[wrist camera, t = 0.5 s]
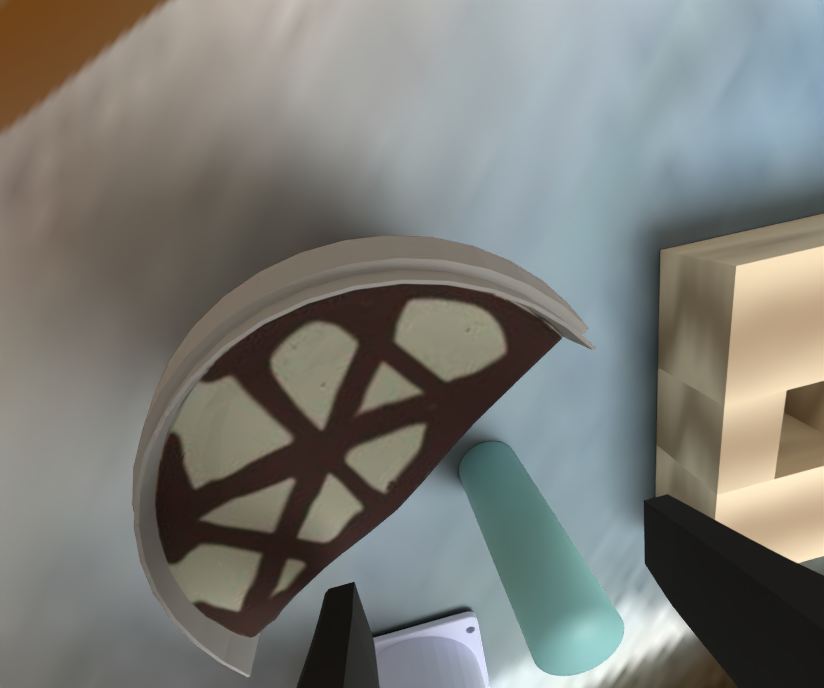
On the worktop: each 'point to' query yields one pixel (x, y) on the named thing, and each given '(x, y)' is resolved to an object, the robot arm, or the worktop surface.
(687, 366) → the hole block
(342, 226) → the worktop surface
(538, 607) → the peg
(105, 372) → the worktop surface
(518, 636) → the worktop surface
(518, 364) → the food container
